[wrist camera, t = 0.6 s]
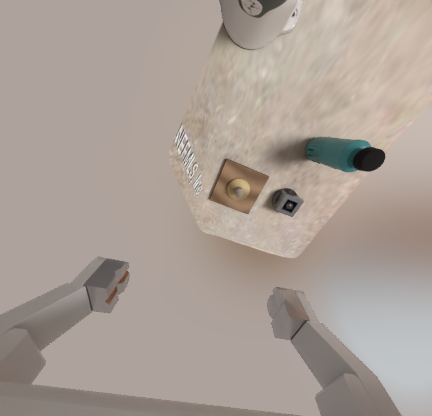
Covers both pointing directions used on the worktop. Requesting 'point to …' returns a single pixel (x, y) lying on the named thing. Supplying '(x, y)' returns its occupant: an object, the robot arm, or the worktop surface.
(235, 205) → the brown square board
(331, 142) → the beverage bottle
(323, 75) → the worktop surface
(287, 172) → the worktop surface
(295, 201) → the square metal tube
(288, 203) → the stand
